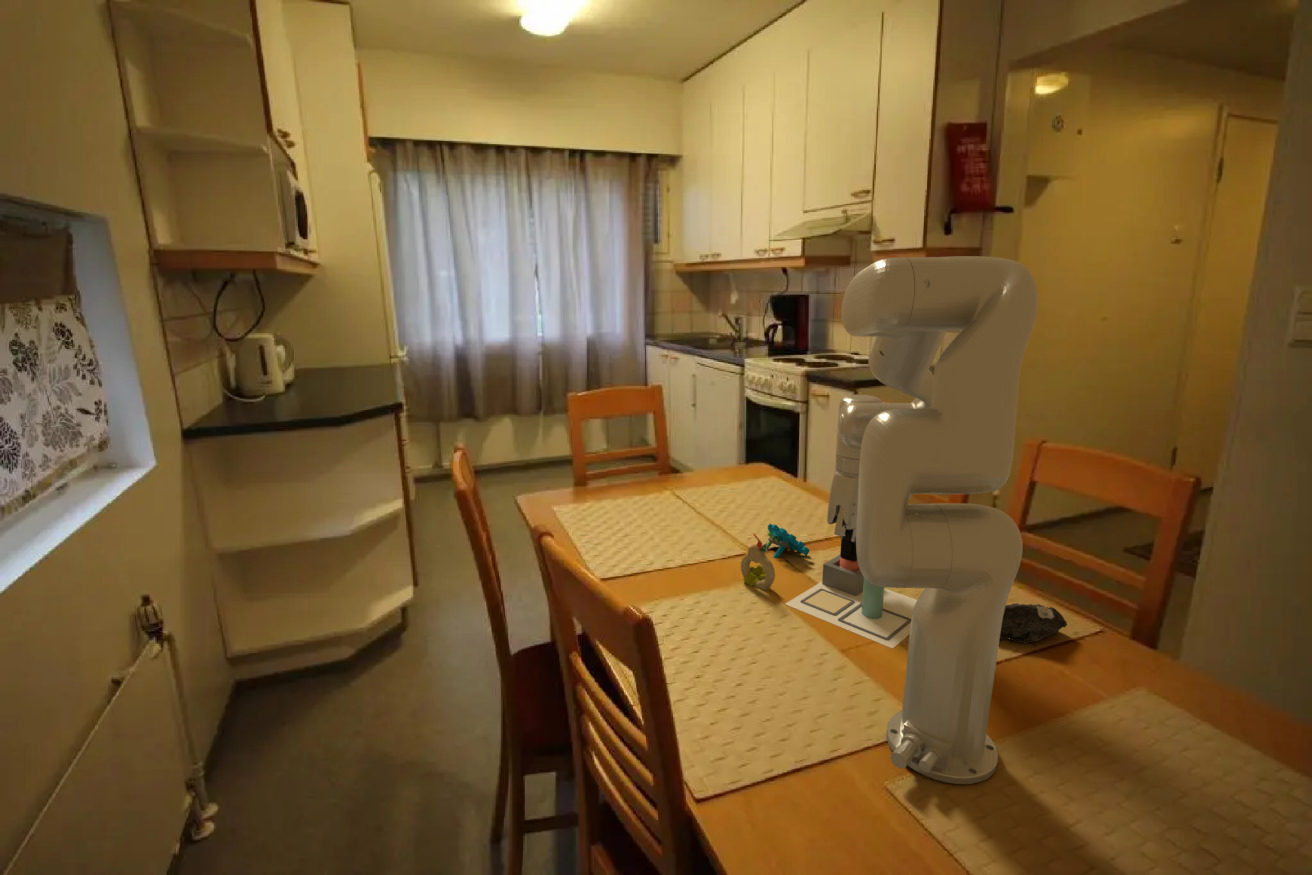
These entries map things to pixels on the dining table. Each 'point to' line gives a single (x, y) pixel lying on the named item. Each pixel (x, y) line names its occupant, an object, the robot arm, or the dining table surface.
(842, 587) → the button collar
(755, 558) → the grey ring ornament
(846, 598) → the cream board with squares
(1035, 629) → the rock
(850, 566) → the button
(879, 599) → the cylinder
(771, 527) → the toy dinosaur
